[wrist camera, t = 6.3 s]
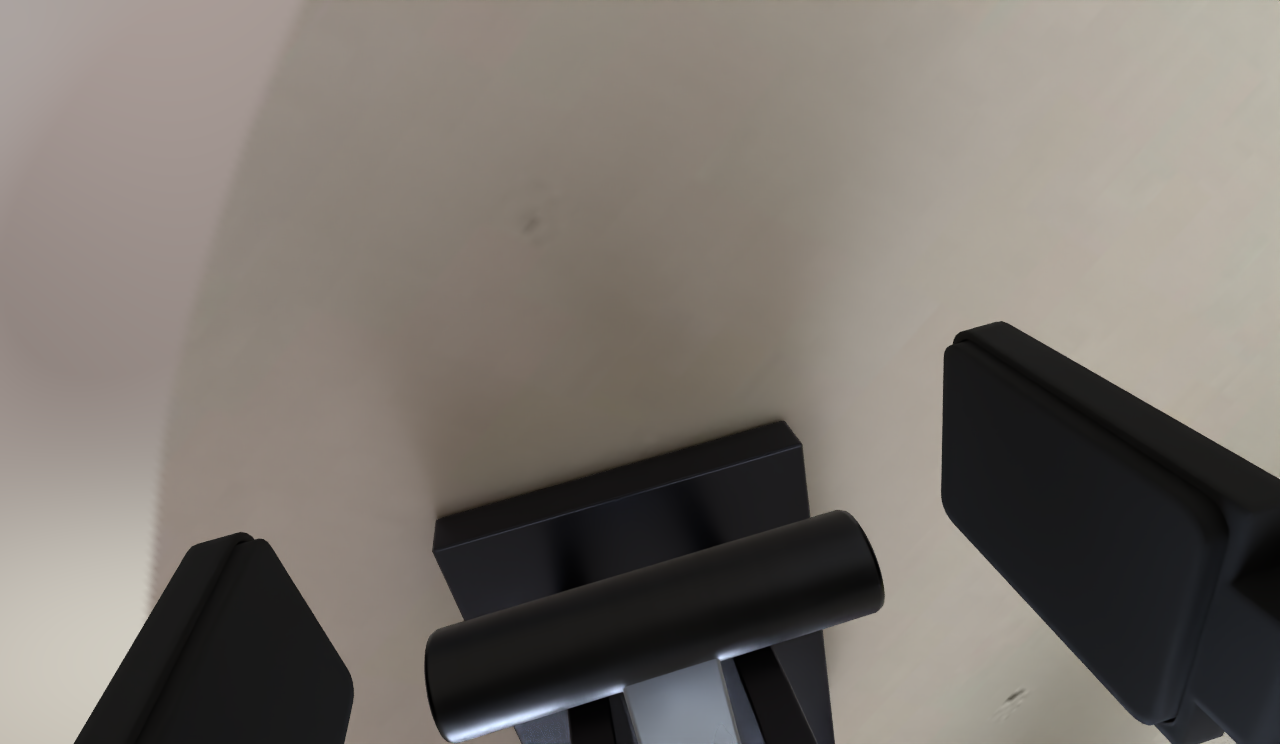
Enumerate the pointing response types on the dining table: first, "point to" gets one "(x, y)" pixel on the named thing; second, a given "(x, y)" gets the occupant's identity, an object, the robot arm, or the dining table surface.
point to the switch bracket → (643, 536)
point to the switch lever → (653, 635)
